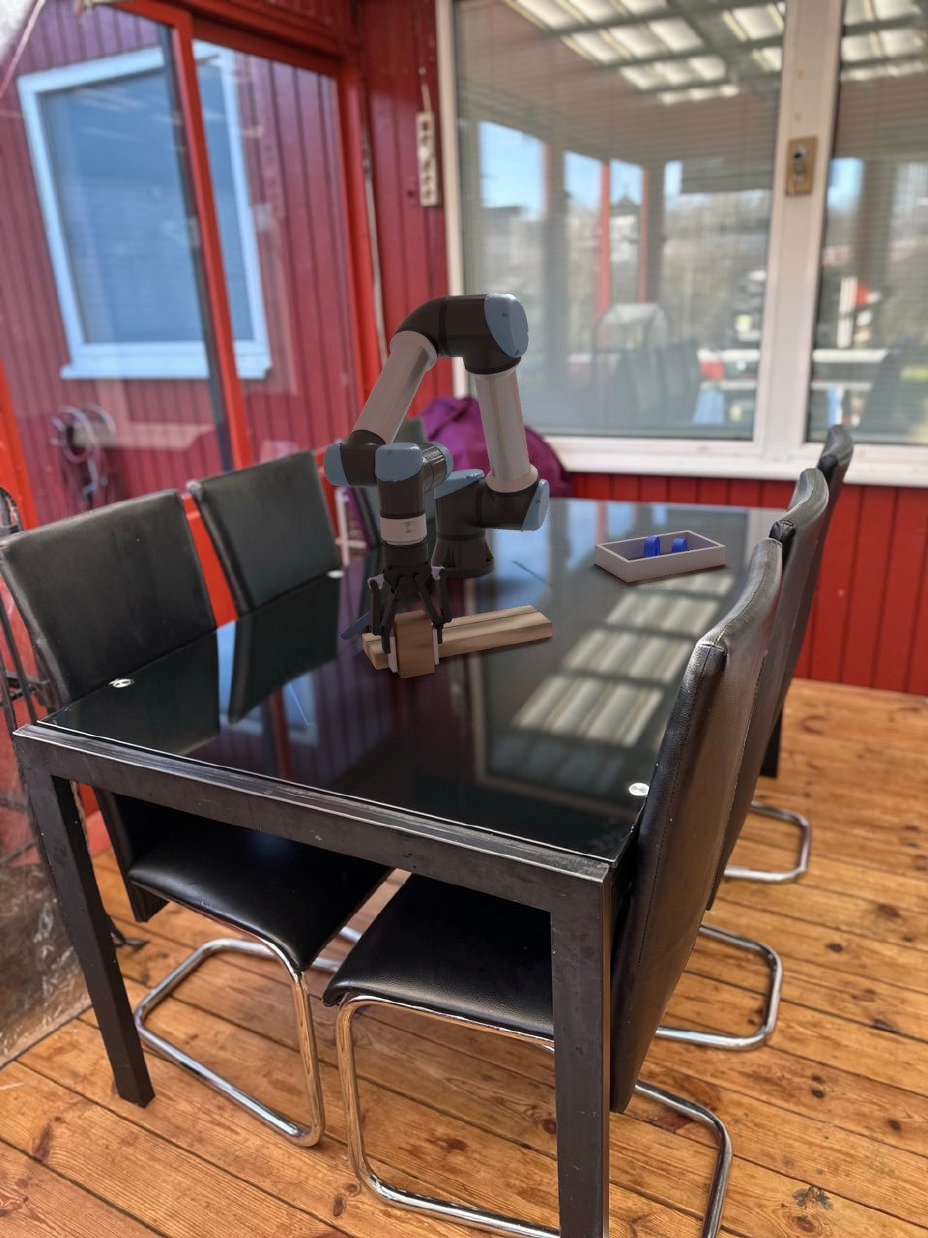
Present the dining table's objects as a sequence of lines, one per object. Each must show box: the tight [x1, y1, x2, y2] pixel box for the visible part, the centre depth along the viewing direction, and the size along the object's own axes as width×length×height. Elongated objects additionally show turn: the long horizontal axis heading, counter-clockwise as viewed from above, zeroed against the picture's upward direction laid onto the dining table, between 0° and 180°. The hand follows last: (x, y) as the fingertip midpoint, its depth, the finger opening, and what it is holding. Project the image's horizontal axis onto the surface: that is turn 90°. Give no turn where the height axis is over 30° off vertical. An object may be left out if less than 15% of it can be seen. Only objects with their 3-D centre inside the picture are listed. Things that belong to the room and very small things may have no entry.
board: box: [361, 604, 553, 670], centre depth 165 cm, size 10×34×3 cm, turn 110°
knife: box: [339, 595, 389, 641], centre depth 172 cm, size 24×2×5 cm, turn 162°
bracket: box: [642, 535, 688, 558], centre depth 206 cm, size 18×8×9 cm, turn 154°
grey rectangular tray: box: [594, 529, 727, 583], centre depth 202 cm, size 15×25×4 cm, turn 110°
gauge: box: [391, 609, 436, 679], centre depth 159 cm, size 18×6×10 cm, turn 20°
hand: (414, 665), depth 155 cm, fingers open, 7 cm apart
